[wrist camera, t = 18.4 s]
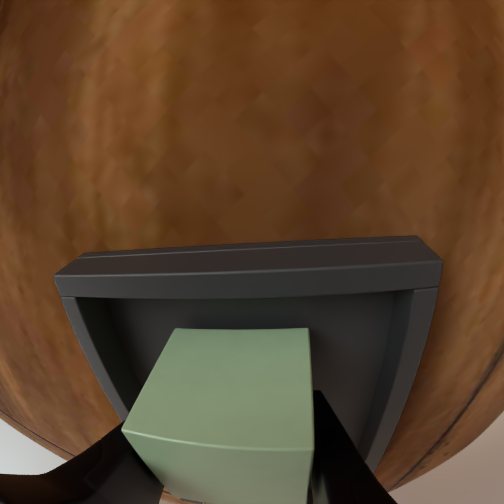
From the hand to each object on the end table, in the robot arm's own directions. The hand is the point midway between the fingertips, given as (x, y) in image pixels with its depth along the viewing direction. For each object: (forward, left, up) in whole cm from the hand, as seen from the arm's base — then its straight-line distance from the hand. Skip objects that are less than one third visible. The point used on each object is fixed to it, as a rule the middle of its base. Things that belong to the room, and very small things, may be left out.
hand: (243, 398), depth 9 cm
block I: (0, 0, -1) cm, 1 cm away
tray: (-4, 0, -2) cm, 4 cm away
